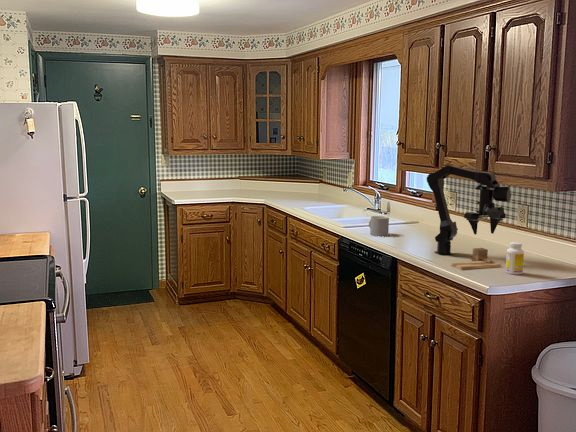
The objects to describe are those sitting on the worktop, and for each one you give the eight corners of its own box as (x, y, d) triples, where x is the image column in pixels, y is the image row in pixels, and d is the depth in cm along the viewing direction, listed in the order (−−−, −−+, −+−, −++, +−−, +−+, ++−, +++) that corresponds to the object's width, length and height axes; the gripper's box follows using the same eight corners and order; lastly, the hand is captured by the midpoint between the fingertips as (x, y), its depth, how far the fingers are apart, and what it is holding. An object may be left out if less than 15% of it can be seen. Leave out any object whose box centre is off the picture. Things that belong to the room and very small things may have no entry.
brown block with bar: (472, 261, 269) (472, 248, 268) (481, 260, 271) (482, 247, 270) (486, 266, 260) (487, 253, 259) (495, 265, 262) (496, 252, 261)
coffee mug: (391, 236, 328) (392, 218, 327) (375, 237, 325) (376, 218, 323) (379, 231, 340) (380, 214, 339) (364, 232, 337) (364, 215, 335)
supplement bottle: (524, 273, 249) (527, 243, 247) (518, 275, 244) (521, 245, 242) (509, 270, 253) (511, 240, 251) (502, 273, 248) (504, 243, 246)
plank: (450, 265, 260) (450, 262, 260) (488, 262, 267) (488, 260, 267) (461, 269, 253) (461, 266, 253) (500, 266, 259) (500, 264, 259)
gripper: (479, 202, 258) (477, 238, 260) (515, 201, 264) (512, 236, 266) (464, 199, 268) (462, 233, 271) (498, 198, 274) (496, 231, 277)
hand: (483, 233), depth 271 cm, fingers open, 9 cm apart
